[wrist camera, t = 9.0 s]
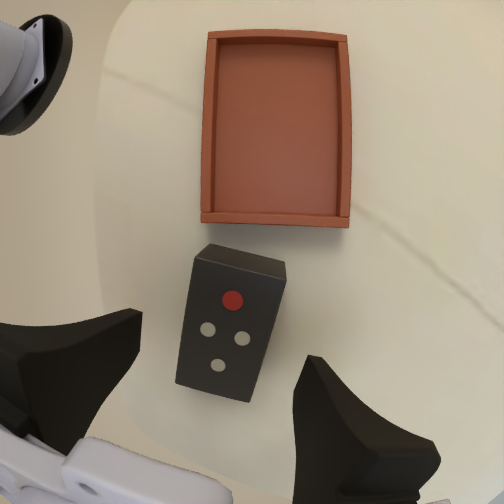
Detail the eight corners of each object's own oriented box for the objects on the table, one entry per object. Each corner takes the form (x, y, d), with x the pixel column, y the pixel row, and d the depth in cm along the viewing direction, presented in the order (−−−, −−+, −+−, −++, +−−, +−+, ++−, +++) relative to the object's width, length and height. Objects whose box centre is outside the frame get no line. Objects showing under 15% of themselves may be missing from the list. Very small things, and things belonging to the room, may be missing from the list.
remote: (253, 371, 17) (249, 404, 14) (189, 355, 17) (174, 384, 14) (285, 261, 15) (287, 279, 12) (209, 243, 15) (193, 256, 12)
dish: (343, 225, 15) (349, 228, 14) (206, 220, 15) (200, 222, 14) (342, 44, 13) (346, 34, 11) (212, 41, 13) (207, 31, 12)
